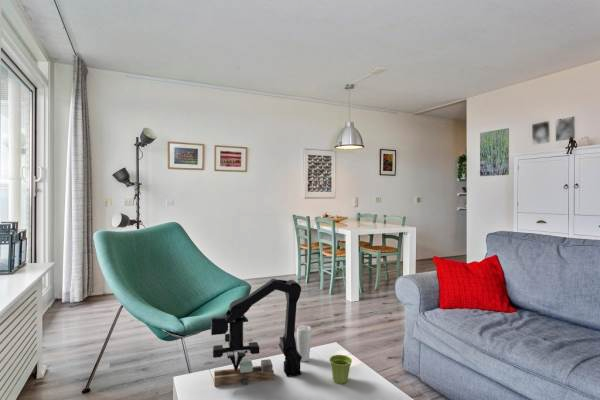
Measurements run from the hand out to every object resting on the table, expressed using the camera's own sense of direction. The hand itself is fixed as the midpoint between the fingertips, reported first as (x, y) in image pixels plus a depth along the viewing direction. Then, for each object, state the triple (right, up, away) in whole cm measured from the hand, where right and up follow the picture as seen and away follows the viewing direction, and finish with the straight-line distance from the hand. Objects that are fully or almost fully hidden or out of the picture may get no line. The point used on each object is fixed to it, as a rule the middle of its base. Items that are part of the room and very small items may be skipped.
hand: (235, 370), depth 147 cm
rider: (+4, -2, +1) cm, 5 cm away
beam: (+3, -4, +1) cm, 5 cm away
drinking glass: (+28, -5, +20) cm, 35 cm away
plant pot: (+44, -5, +1) cm, 44 cm away
